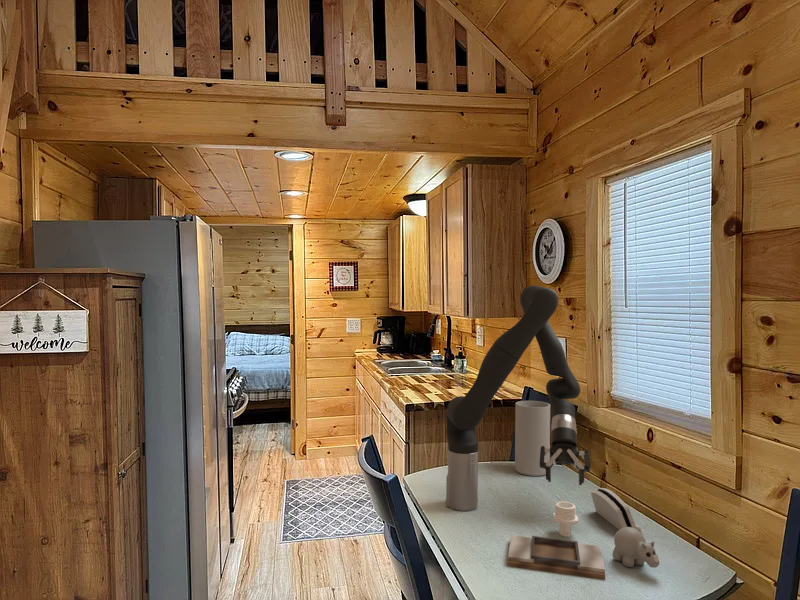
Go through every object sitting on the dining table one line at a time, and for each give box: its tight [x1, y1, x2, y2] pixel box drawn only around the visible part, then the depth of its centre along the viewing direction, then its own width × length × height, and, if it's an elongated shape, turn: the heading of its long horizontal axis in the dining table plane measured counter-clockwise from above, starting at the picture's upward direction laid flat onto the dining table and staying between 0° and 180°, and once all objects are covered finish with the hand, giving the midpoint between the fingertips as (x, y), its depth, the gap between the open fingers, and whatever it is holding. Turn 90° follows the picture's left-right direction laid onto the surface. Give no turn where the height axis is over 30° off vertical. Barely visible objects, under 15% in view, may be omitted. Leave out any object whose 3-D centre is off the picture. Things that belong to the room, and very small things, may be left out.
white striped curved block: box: [590, 487, 643, 535], centre depth 154 cm, size 17×5×10 cm, turn 8°
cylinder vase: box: [514, 400, 551, 477], centre depth 199 cm, size 12×12×25 cm
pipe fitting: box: [552, 501, 579, 538], centre depth 146 cm, size 6×7×8 cm
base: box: [507, 534, 606, 580], centre depth 133 cm, size 22×14×2 cm, turn 75°
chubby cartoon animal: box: [612, 527, 660, 569], centre depth 129 cm, size 7×12×8 cm, turn 20°
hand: (565, 482), depth 154 cm, fingers open, 8 cm apart
